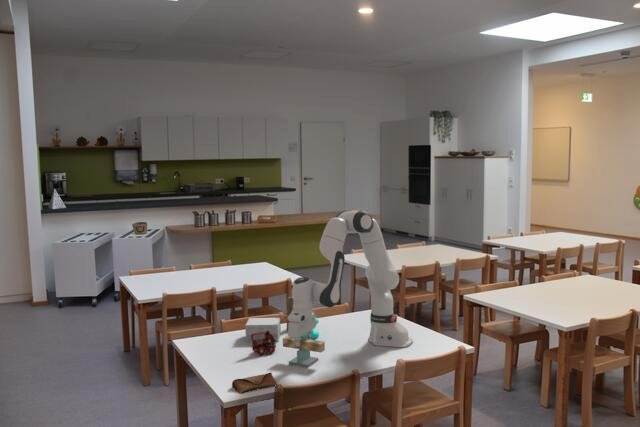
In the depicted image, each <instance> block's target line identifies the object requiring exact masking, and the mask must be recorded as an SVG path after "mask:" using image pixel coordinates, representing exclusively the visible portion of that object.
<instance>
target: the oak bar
mask: <svg viewBox="0 0 640 427" xmlns="http://www.w3.org/2000/svg"><path fill="white" fill-rule="evenodd" d="M299 341H300V342H301V345H300V346H296V342H295V340H294V339H291V338H290V337H289V335H288V336H287V335H286V336H284V337H282V347H284V348H288V349H289V348H291V349H295V350H299V349H301V350H308V351H310V352H315V353H323V352H324V351H325V350H326V347H325V344H326V343H325V341H323V340H315V339H303V338H301V337H300V339H299Z"/></svg>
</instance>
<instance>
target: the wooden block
mask: <svg viewBox="0 0 640 427" xmlns="http://www.w3.org/2000/svg"><path fill="white" fill-rule="evenodd" d="M293 303H294V302H293V296H287V297H286V308H287V309H286V310H287V311H286V314H287V316H286V318H287V322H286V330H288V324H289V322H290V321H288V316H289V315H290V313H291V312H292V310H293Z"/></svg>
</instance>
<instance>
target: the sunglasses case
mask: <svg viewBox="0 0 640 427" xmlns="http://www.w3.org/2000/svg"><path fill="white" fill-rule="evenodd" d="M275 385H278V383H277V382H276V380H275V378H274V375H273V373H272V372H268V373H264V374H259V375H253V376H248V377H244V378H236V379H234V380H233V381H232V382H231V387H232V389H233V388H234V389H235V390H234V389H233V390H234V391H236V392H237V393H238V394H240V395H243V394H245V392H246V393H249V391H250V392H253V390H254V391H257V389H259V390H263V389H268V388H273V387H276V386H275ZM262 388H263V389H262Z"/></svg>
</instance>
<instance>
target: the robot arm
mask: <svg viewBox="0 0 640 427" xmlns="http://www.w3.org/2000/svg"><path fill="white" fill-rule="evenodd" d="M380 228H381V227H380V226H379V223H378V222H377V220H376V219H374V218H373V217H372V215H371V214H370V213H369V212H367V211H365V210H350V211H342V212H339V213H338V214H337V215H336V216H335V217H332V218H330V219H329V220H328V222H327V224H326V225H325V227H324V229H323V232H322V236H321V238H320V242H319V251H320V253H321V255H322V256H323V257H324V258H326V259H327V260H328V261H329V263H330V272H329V277H328V282H327V283H323V282H319V281H315V280H312V279H310V278H309V277H307V276H302V277H298V278H296V279H295V280H293V283H292V294H291V295H292V296H291V297H293V302H294V303H293V310H292V312H291V313H290V315H289V316H288V320H287V322H288V321H290V322H289V324H288V329H287V332H288V336H289V337H290V338H291V339H294V340H295V342H296V346H300V345H301V342H300V341H299V339H300V338H301V336H302V335H304V334H306V333H307V335H306V339H310V340H312V339H311V338H310V336H311V332H312V329H315V328H316V326H317V325H316V318H317V317H316V313H315V311H314V309H313V304H318V305H321V306H323V307H326V308H333V307H335V306H336V305H337V304H338V303H339V301H340V299H341V285H342V281H343V280H342V279H343V273H344V267H345V261H346V259H345V254H344V252H343V251H344V244H345V241H346V237H347V235H349V234H358V235H359V239H360V242H361V245H362V250H363V253H364V257H365V259H366V260H367V262H368V265H367V266H366V268H365V277H366V278H367V283H368V289H369V294H370V300H371V301H370V307H371V309H370V310H371V312H370V316H369V320H370V331H369V336H368V341H369V342H370V343H371V344H372V345H374V346H378V347H379V346H380V347H391V348H392V347H393V348H406V347H410V345H412V344H413V342H414V338H412V337H410V336H409V331H408V329H407V328H406V327H405V326H404V325H403V324H401V322H399V321H398V315H399V314H397V313H396V314H395V313H394V297H393V294H392V292H391V290H393V289H395V288H396V287H398V285H399V283H400V275H399V274H398V273H397V270H396V269H395V265H393V262H392V260H391V258H390V255H389V253H388V251H387V248H386V244H385V241H384V237H383V234H382V230H381V229H380Z"/></svg>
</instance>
